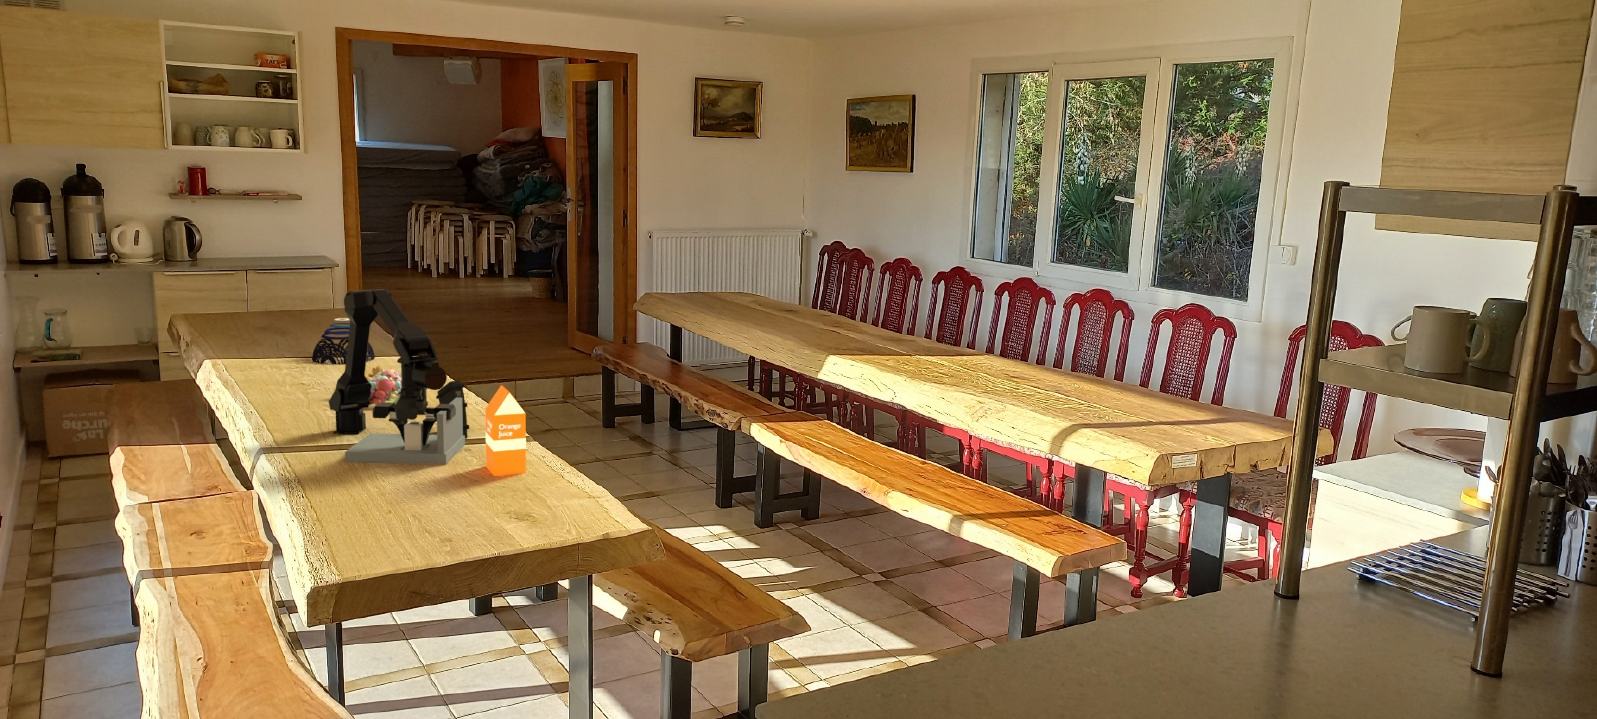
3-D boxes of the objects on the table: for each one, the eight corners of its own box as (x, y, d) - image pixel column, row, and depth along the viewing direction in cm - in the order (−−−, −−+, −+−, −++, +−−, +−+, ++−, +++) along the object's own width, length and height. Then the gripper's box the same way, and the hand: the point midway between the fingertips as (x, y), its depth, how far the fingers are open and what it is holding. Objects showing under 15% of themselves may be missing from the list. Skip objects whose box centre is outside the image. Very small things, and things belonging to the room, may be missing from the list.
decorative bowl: (300, 362, 383) (298, 321, 380) (333, 352, 403) (331, 313, 400) (353, 366, 380) (352, 325, 377) (384, 356, 399) (383, 316, 397)
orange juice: (493, 476, 261) (492, 393, 258) (485, 466, 269) (484, 385, 265) (526, 472, 265) (526, 390, 261) (518, 463, 272) (517, 383, 269)
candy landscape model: (320, 402, 328) (319, 372, 326) (378, 388, 349) (377, 359, 348) (387, 413, 319) (386, 381, 317) (442, 397, 340) (441, 368, 338)
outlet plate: (345, 461, 268) (343, 411, 266) (370, 442, 286) (369, 395, 283) (446, 464, 269) (445, 414, 267) (465, 444, 287) (464, 397, 284)
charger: (405, 456, 272) (404, 423, 271) (409, 452, 276) (409, 419, 275) (421, 457, 273) (420, 424, 271) (426, 452, 276) (425, 420, 275)
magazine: (460, 436, 288) (449, 381, 291) (443, 447, 298) (432, 393, 301) (474, 434, 291) (463, 379, 293) (456, 445, 301) (446, 392, 303)
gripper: (363, 389, 263) (365, 452, 266) (443, 391, 264) (444, 454, 267) (379, 379, 274) (381, 440, 277) (455, 381, 275) (457, 442, 277)
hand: (415, 444), depth 274 cm, fingers closed on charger, 4 cm apart
